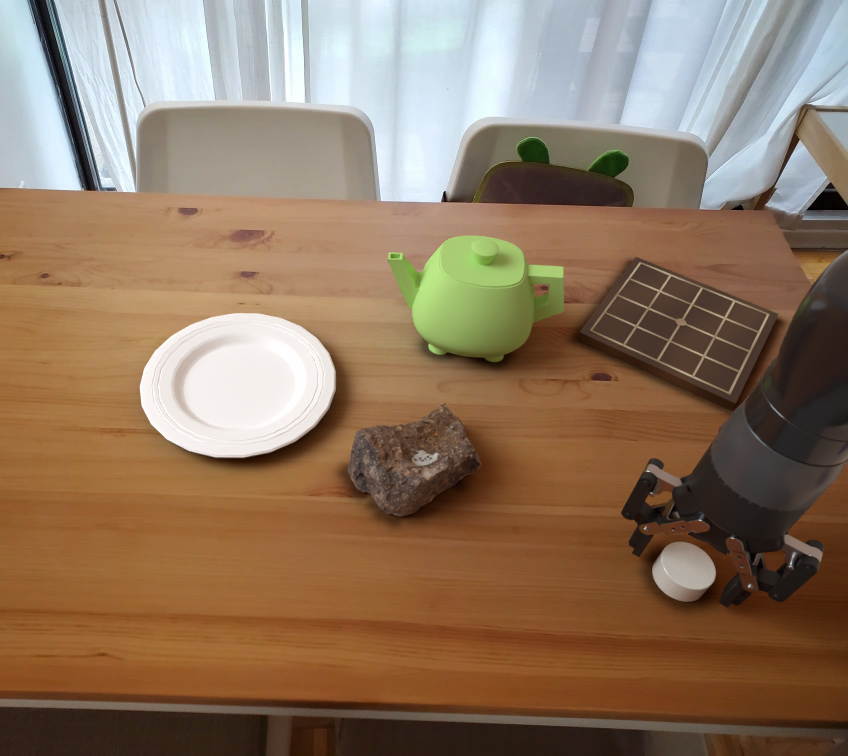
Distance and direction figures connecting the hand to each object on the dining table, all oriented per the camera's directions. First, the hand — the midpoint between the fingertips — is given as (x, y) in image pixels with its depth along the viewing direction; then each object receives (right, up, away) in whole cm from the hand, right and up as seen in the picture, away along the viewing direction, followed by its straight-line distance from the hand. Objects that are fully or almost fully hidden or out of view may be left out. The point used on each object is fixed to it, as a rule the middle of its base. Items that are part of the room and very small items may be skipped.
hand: (681, 572), depth 64 cm
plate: (-41, +16, +15) cm, 46 cm away
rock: (-22, +8, +8) cm, 25 cm away
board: (+10, +23, +23) cm, 34 cm away
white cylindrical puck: (0, -1, +1) cm, 1 cm away
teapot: (-15, +23, +22) cm, 35 cm away
